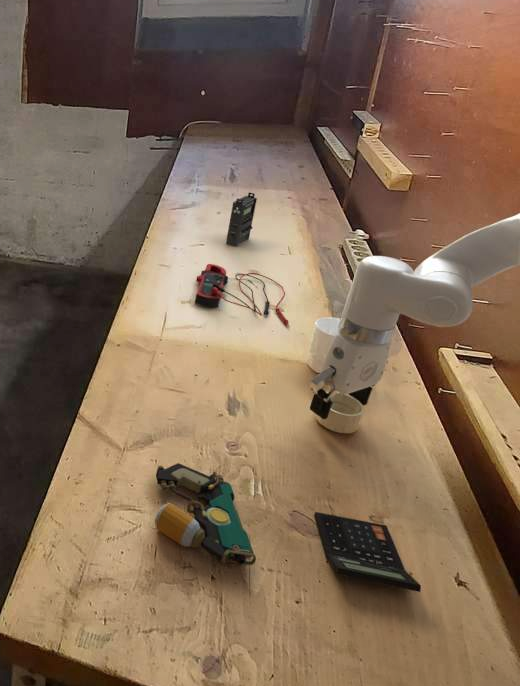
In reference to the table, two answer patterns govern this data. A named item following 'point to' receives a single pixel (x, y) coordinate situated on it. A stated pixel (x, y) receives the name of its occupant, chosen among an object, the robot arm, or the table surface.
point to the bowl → (343, 414)
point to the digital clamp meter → (213, 288)
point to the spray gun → (204, 515)
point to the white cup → (322, 341)
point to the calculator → (362, 551)
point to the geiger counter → (241, 219)
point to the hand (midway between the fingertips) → (337, 407)
